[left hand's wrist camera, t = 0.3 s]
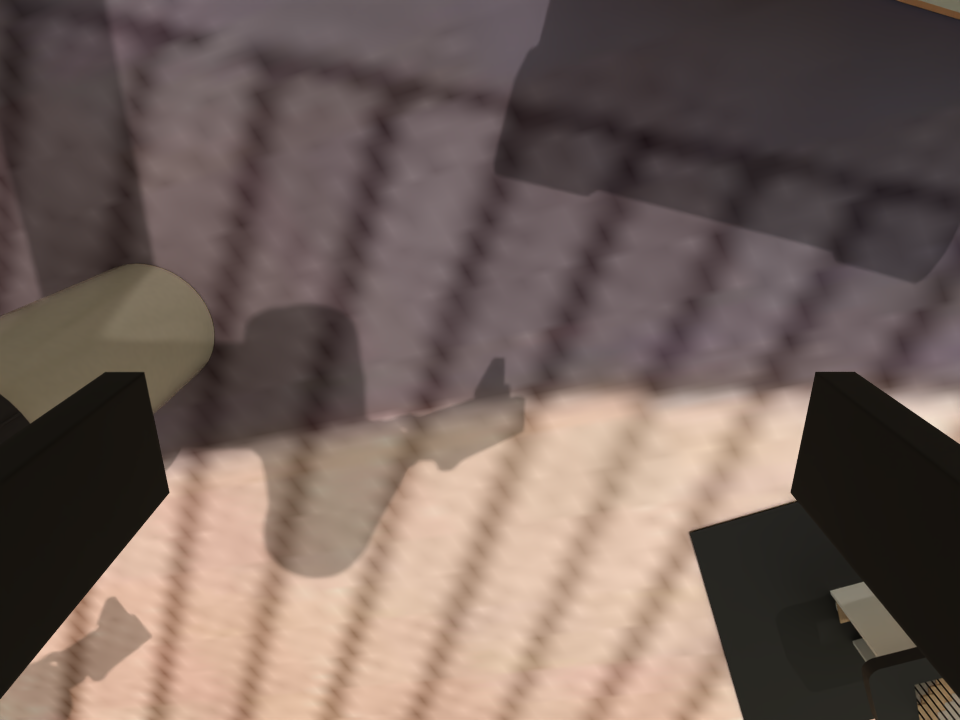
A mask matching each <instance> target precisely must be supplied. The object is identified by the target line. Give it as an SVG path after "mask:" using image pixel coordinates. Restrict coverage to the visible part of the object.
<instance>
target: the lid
mask: <svg viewBox="0 0 960 720" xmlns="http://www.w3.org/2000/svg"><path fill="white" fill-rule="evenodd" d="M29 424H30V422H29V421H28V420H27V419H26V418H25V416H24V415H23V414H22V413H21V412H20V411H19V410H18V409H17V408H16V407H15V406H14V405H13V404H12V403H11V402H10V401H9V400H7V399H6V398H5V397H4V396H2V395H1V394H0V444H1V443H3V442H4V441H6V440H7V439H9V438H10V437H12V436H13V435H14V434H16V433H17V432H19V431H20V430H22V429H23V428H25V427H26V426H28V425H29Z"/></svg>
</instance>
